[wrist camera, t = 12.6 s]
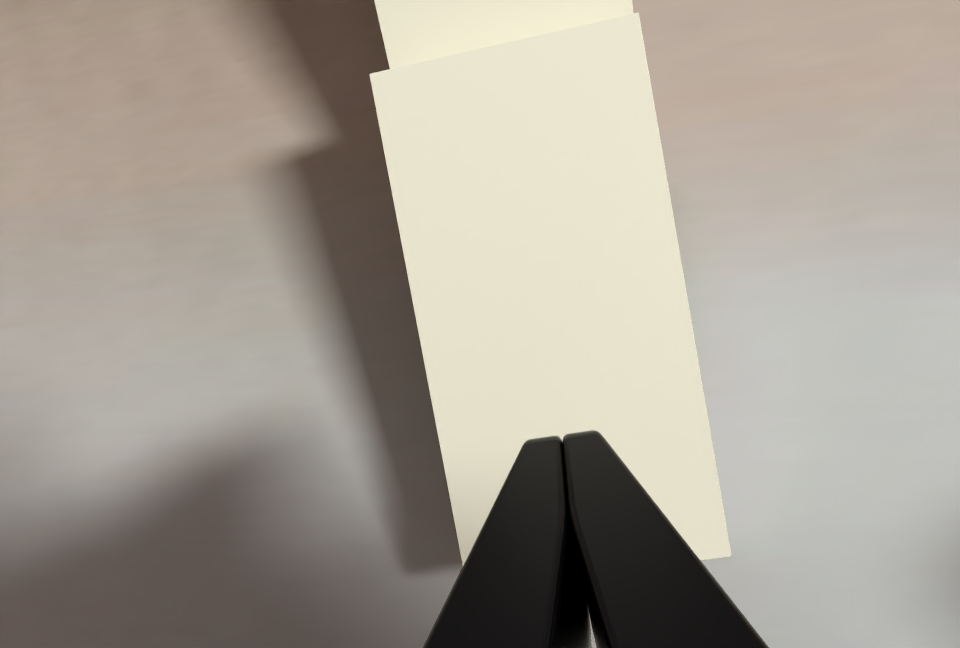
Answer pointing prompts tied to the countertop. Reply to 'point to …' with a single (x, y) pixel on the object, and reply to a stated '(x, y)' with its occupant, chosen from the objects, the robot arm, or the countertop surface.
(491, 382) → the domino
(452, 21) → the domino
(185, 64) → the countertop surface
